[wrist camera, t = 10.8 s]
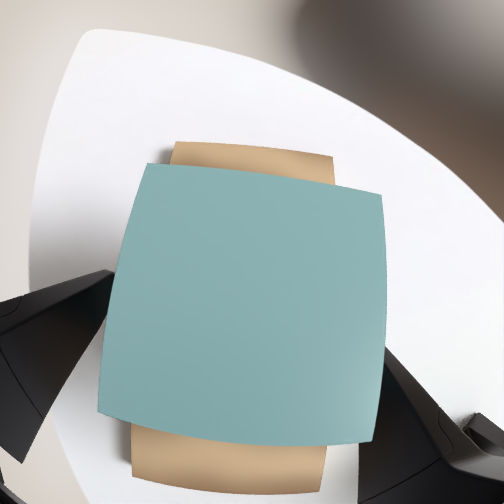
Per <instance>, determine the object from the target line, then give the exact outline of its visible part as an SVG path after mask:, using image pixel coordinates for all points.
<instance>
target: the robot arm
mask: <svg viewBox="0 0 504 504" xmlns="http://www.w3.org/2000/svg"><path fill="white" fill-rule="evenodd" d="M114 277H115V273H114V272H112V271H109V270H101V271H98V272H95V273H91V274H88V275H85V276H81V277H78V278H75V279H72V280H69V281H65V282H62V283H59V284H56V285H53V286H50V287H46V288H43V289H40V290H37V291H34V292H31V293H28V294H25V295H24V296H19V297H16V298H13V299H10V300H6V301H3V302H0V446H1V447H2V448H3V449H4V450H5V451H7V452H8V453H9V454H10V455H11V456H13V457H14V458H15V459H16V460H17V461H19V462H20V463H21V464H22V463H23V461H24V459H25V457H26V455H27V453H28V451H29V449H30V447H31V445H32V443H33V441H34V439H35V436H36V435H37V433H38V431H39V429H40V427H41V425H42V423H43V421H44V419H45V417H46V415H47V413H48V412H49V410H50V408H51V406H52V404H53V403H54V401H55V399H56V397H57V396H58V394H59V392H60V390H61V389H62V387H63V385H64V384H65V382H66V380H67V379H68V377H69V375H70V374H71V372H72V370H73V369H74V367H75V365H76V364H77V362H78V361H79V359H80V357H81V356H82V354H83V353H84V351H85V350H86V348H87V347H88V345H89V344H90V342H91V341H92V339H93V337H94V336H95V334H96V333H97V331H98V330H99V328H100V326H101V324H102V322H103V320H104V318H105V317H106V315H107V313H108V308H109V302H110V297H111V292H112V287H113V282H114ZM0 504H26V503H25V502H24V501H22V500H21V499H20V498H19V497H17V496H16V495H15V494H14V493H12V492H11V491H10V490H9V489H8V488H7V487H6V486H4V480H3V476H2V473H1V469H0ZM357 504H504V457H499V456H492V455H489V454H487V453H485V452H483V451H482V450H481V449H480V448H479V447H478V446H477V445H476V444H475V443H474V442H473V441H472V440H471V439H470V438H469V437H468V436H467V435H466V434H465V433H464V432H463V431H462V430H461V429H460V428H459V427H458V426H457V425H456V424H455V423H454V422H453V421H452V420H451V419H450V418H449V417H448V415H447V414H446V413H445V412H444V411H443V410H442V409H441V407H439V405H438V404H437V403H436V402H435V401H434V399H433V398H432V397H431V396H430V395H429V394H428V393H427V392H426V390H425V389H424V388H423V387H422V386H421V385H420V384H419V383H418V382H417V380H416V379H415V378H414V377H413V376H412V375H411V374H410V373H409V372H408V370H407V369H406V368H405V367H404V366H403V365H402V364H401V363H400V362H399V361H398V360H397V358H396V357H395V356H394V355H393V354H392V353H391V352H390V351H389V350H388V349H387V348H386V347H385V351H384V363H383V373H382V382H381V390H380V397H379V404H378V410H377V416H376V422H375V427H374V433H373V438H372V441H370V442H362V443H359V476H358V501H357Z"/></svg>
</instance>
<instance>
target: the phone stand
mask: <svg viewBox="0 0 504 504" xmlns="http://www.w3.org/2000/svg"><path fill="white" fill-rule="evenodd" d="M462 431H463V432H464V433H465V434H466V435H467V436H468V437H469V438H470V439H471V440H472V441H473V442H474V443H475V444H476V445H477V446H478V447H479V448H480V449H481V450H482V451H483V452H485V453H487V454H489V455H492V456H499V457H504V431H503V430H502V429H500V428H499V427H498V426H497V425H495V424H494V423H493V422H491V421H490V420H489V419H488V418H486V417H485V416H484V415H482V414H481V413H477V414H475V415H474V417H473V418H472V419H471V420H470V421H469V423H468V424H467V425H466V426H465V427H464V428H463V430H462Z"/></svg>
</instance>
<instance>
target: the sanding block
mask: <svg viewBox="0 0 504 504" xmlns="http://www.w3.org/2000/svg"><path fill="white" fill-rule="evenodd" d="M386 314H387V266H386V243H385V228H384V216H383V206H382V197H381V195H379V194H375V193H371V192H366V191H361V190H357V189H352V188H347V187H342V186H336V185H331V184H326V183H320V182H315V181H309V180H303V179H297V178H290V177H284V176H277V175H270V174H263V173H255V172H247V171H238V170H229V169H220V168H210V167H198V166H186V165H171V164H154V163H147V166H146V168H145V171H144V174H143V177H142V180H141V183H140V186H139V189H138V192H137V195H136V198H135V201H134V204H133V208H132V211H131V214H130V218H129V221H128V225H127V228H126V232H125V236H124V239H123V243H122V247H121V251H120V255H119V259H118V264H117V268H116V272H115V277H114V282H113V287H112V292H111V297H110V302H109V308H108V314H107V320H106V326H105V333H104V340H103V348H102V357H101V367H100V378H99V392H98V412H99V413H102V414H105V415H108V416H110V417H114V418H117V419H120V420H123V421H126V422H130V423H133V424H137V425H140V426H144V427H148V428H152V429H156V430H160V431H164V432H169V433H173V434H178V435H183V436H188V437H194V438H200V439H206V440H213V441H220V442H229V443H238V444H250V445H265V446H326V445H341V444H352V443H362V442H370V441H372V438H373V433H374V427H375V422H376V416H377V410H378V404H379V397H380V390H381V382H382V373H383V363H384V351H385V337H386Z"/></svg>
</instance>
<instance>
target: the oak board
mask: <svg viewBox="0 0 504 504" xmlns="http://www.w3.org/2000/svg"><path fill="white" fill-rule="evenodd" d="M169 164H171V165H186V166H198V167H210V168H220V169H229V170H238V171H247V172H255V173H263V174H270V175H277V176H284V177H290V178H297V179H303V180H309V181H315V182H320V183H326V184H331V185H335V177H334V166H333V157H331V156H325V155H319V154H313V153H307V152H300V151H292V150H285V149H277V148H268V147H258V146H248V145H236V144H222V143H204V142H175V146H174V149H173V152H172V156H171V159H170V163H169ZM326 450H327V445H326V446H265V445H250V444H238V443H229V442H220V441H213V440H206V439H200V438H194V437H188V436H183V435H178V434H173V433H169V432H164V431H160V430H156V429H152V428H148V427H144V426H140V425H137V424H133V423H131V460H132V476H133V477H136V478H140V479H144V480H148V481H152V482H156V483H161V484H166V485H171V486H176V487H182V488H188V489H194V490H201V491H210V492H219V493H232V494H255V495H275V494H298V493H311V492H319V489H320V484H321V479H322V474H323V468H324V462H325V456H326Z"/></svg>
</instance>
